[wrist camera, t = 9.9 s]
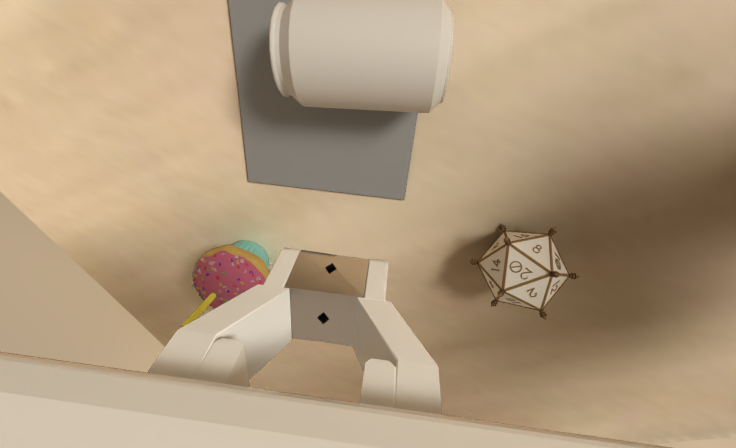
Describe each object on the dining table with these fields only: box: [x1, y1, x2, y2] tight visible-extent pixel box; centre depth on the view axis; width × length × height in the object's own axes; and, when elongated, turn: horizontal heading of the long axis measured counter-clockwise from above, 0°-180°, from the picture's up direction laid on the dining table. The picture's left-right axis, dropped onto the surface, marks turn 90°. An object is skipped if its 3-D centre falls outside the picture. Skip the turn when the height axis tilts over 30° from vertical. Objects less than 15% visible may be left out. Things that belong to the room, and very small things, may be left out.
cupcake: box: [181, 241, 270, 327], centre depth 37 cm, size 9×8×12 cm
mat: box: [228, 0, 417, 200], centre depth 31 cm, size 16×20×1 cm
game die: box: [469, 224, 579, 320], centre depth 34 cm, size 9×8×10 cm
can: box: [269, 0, 454, 113], centre depth 26 cm, size 8×8×12 cm
